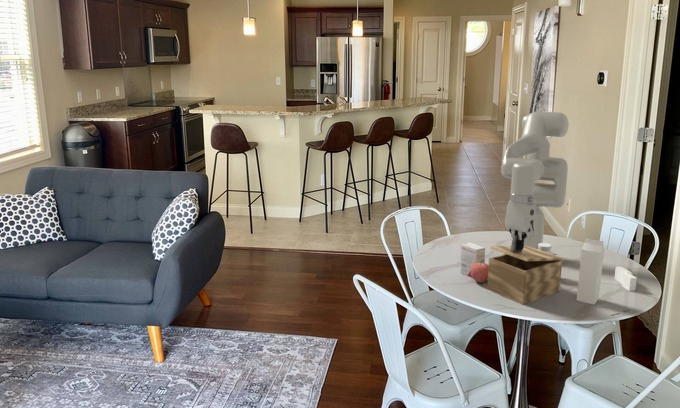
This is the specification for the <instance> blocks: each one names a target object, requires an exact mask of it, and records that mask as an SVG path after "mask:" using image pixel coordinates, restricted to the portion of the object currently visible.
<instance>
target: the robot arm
mask: <svg viewBox="0 0 680 408" xmlns="http://www.w3.org/2000/svg"><path fill="white" fill-rule="evenodd" d="M569 126H570V125H569V119H568V117H567V115H566V114H564V113H562V112H558V111H534V112H530V113H529V114H526V115H524V116H523V117H522V120H521V127H522V134H521V138H519V139H517V140H515V141H514V142H513V143H510V145H509V146H508V147H507V148H506V149H505V152H504V154H503V158H502V161H501V165H500V166H501V167H500V173H501V175H502V177H504V178H506V179H511V182H510V193H509V194H510V196H509V197H510V198H509V200H508V203H507V206H506V211H505V219H504V225H505V227H504V228H505V229H506V230H507V231H509V233H510V236H511V237H510V238H512V239H513V235H519V236H518V239H517V244H516V250H522V249H523V248H524V246H529V247H532V248H535V249H539V248H538V244H539V243H544V242H543V241H544V229H545V220H546V219H545V214H544V212H543V210H542V209H541V207H545V208H553V209H554V208H557V209H560V208H561V207H563V206H564V205H565V201H566V200H565V199H566V193H567V182H568V168H569V167H568V162H567V161H566V159H564V158H562V157H550V156H551V155H550V152H551V151H550V148H551V145H550V142H549V140H548V139H547V137H552V138H563V137H565V136H566V135H567V133H568V130H569ZM522 156H526V157H522ZM536 181H551V182H553V183H545V182H543V183H542V182H536Z"/></svg>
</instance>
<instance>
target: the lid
mask: <svg viewBox="0 0 680 408" xmlns="http://www.w3.org/2000/svg"><path fill="white" fill-rule="evenodd" d="M518 236H519V235H513V238H512V240H511V245H493V246H492V245H491V246H490V249H491V250H494V251H496V252H499V253H503V254H508V255H510V256H513V257H516V258H519V259H521V260H524V261H548V260H562V261H563V257H562V256H559V255H557V254H554V253H553V254H550V253H547V252H544V251H541V250H538V249H535V248H532V247H529V246H524V248H523V249H522V250H516V244H517V239H518Z"/></svg>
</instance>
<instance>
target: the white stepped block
mask: <svg viewBox="0 0 680 408" xmlns="http://www.w3.org/2000/svg"><path fill="white" fill-rule="evenodd" d="M613 279H614V280H615V281H617V282H619V283H620V284H621V287H623V288H624V289H625V290H627V291H629V292H631V291H632V292H633V291H636V288H637V287H636V286H637V281H638V278H637V277H636V276H634V275H633V272H631V271H629V270H628V269H626V268H625V267H623V266H615V270H614V278H613Z"/></svg>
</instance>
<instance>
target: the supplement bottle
mask: <svg viewBox="0 0 680 408" xmlns="http://www.w3.org/2000/svg"><path fill="white" fill-rule="evenodd" d="M538 248H539V249H538V250H541V251H544V252H547V253H550V254H553V255H554V253H553V251H552V250H551V249H552V244H551V243H548V242H543V243H539V244H538Z"/></svg>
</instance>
